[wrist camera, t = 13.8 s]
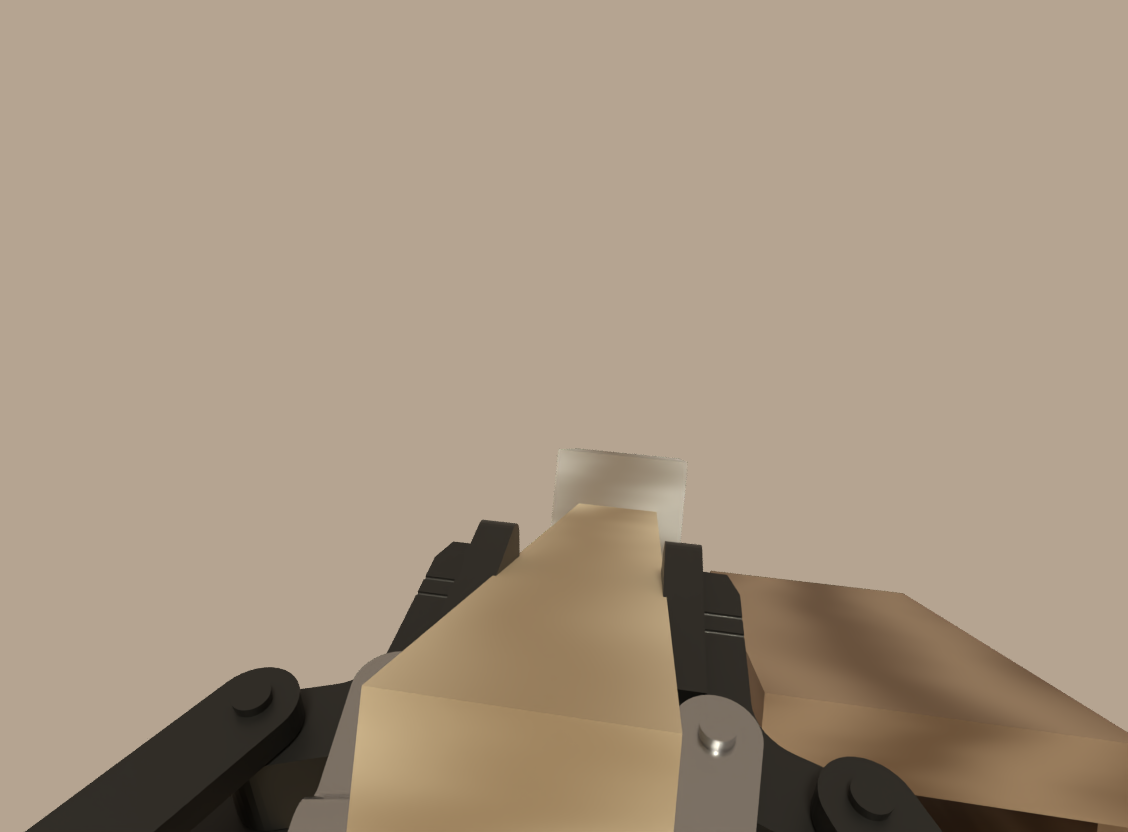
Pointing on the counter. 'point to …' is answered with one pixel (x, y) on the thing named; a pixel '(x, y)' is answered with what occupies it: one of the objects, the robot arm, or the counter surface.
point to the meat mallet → (541, 678)
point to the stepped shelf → (927, 710)
